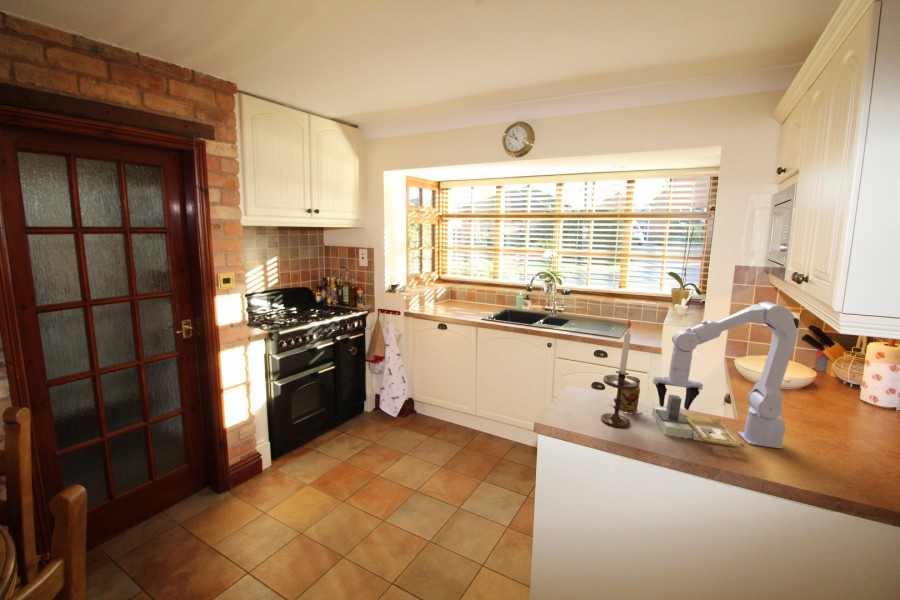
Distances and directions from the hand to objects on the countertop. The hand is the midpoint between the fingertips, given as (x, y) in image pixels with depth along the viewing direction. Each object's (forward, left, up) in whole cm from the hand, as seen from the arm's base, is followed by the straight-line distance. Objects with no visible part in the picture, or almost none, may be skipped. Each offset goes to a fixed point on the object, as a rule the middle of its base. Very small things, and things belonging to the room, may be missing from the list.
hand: (673, 407), depth 142 cm
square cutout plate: (0, 0, -7) cm, 7 cm away
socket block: (-10, +3, -7) cm, 12 cm away
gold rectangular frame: (-10, +6, -5) cm, 13 cm away
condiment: (+12, -10, -7) cm, 17 cm away
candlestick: (+18, +3, -7) cm, 20 cm away
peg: (0, 0, -6) cm, 6 cm away
